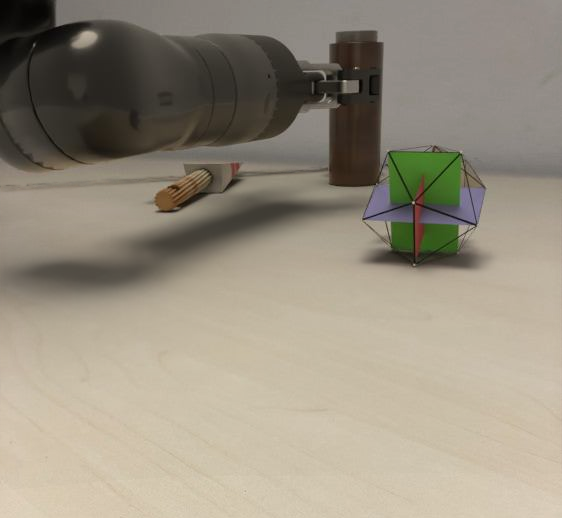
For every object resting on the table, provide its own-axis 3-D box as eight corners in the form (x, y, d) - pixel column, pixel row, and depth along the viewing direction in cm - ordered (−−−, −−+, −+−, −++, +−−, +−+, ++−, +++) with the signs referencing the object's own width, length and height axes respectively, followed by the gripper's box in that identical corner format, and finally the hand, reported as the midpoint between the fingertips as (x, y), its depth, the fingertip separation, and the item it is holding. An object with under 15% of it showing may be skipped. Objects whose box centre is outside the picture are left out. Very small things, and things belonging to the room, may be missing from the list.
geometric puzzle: (472, 243, 37) (491, 108, 38) (345, 236, 39) (369, 109, 41) (475, 292, 44) (492, 175, 45) (367, 284, 46) (386, 173, 47)
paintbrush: (248, 148, 76) (182, 185, 58) (249, 174, 77) (185, 218, 59) (214, 147, 76) (139, 184, 59) (216, 173, 78) (143, 216, 60)
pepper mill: (360, 187, 69) (364, 29, 63) (318, 183, 72) (318, 32, 67) (389, 181, 73) (394, 30, 67) (348, 177, 76) (349, 33, 70)
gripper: (316, 28, 47) (404, 35, 60) (150, 38, 53) (261, 42, 66) (317, 146, 50) (400, 128, 63) (159, 141, 56) (263, 126, 69)
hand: (328, 84), depth 64 cm, fingers open, 8 cm apart
